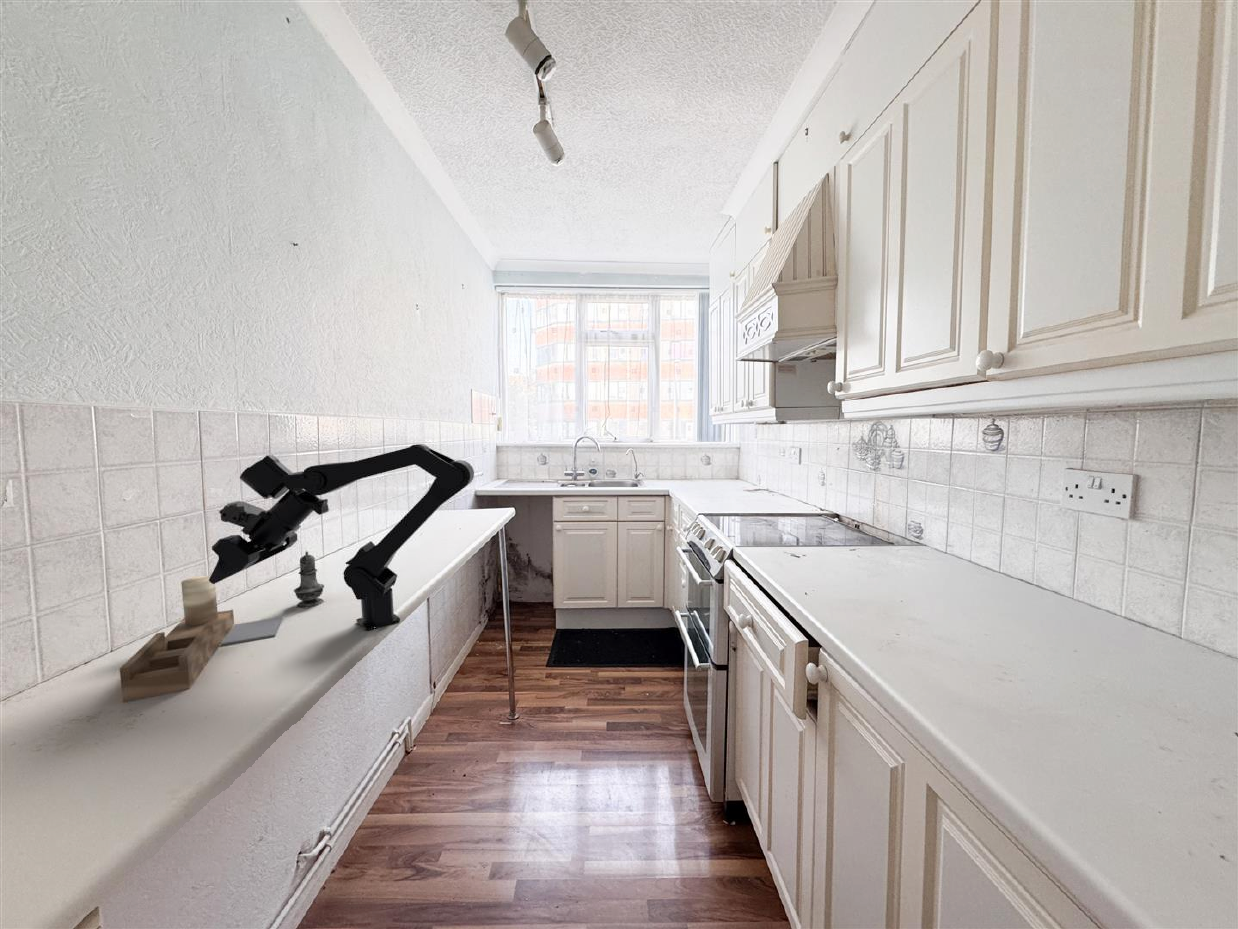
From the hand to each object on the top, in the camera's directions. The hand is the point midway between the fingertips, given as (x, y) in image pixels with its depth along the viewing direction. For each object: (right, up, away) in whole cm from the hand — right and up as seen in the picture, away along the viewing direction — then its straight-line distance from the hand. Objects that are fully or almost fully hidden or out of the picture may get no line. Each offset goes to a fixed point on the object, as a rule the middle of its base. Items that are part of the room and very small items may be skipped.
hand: (227, 574), depth 93 cm
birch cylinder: (-5, -9, 0) cm, 10 cm away
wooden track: (0, -12, -9) cm, 15 cm away
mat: (+4, -11, +2) cm, 12 cm away
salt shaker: (+5, -10, +17) cm, 20 cm away
